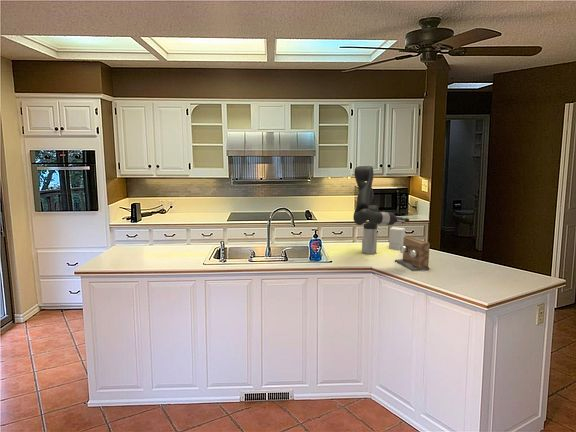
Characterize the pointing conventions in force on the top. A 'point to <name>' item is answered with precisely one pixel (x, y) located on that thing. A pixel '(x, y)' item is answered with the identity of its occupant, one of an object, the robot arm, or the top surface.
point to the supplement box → (396, 238)
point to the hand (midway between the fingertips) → (408, 220)
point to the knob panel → (416, 262)
